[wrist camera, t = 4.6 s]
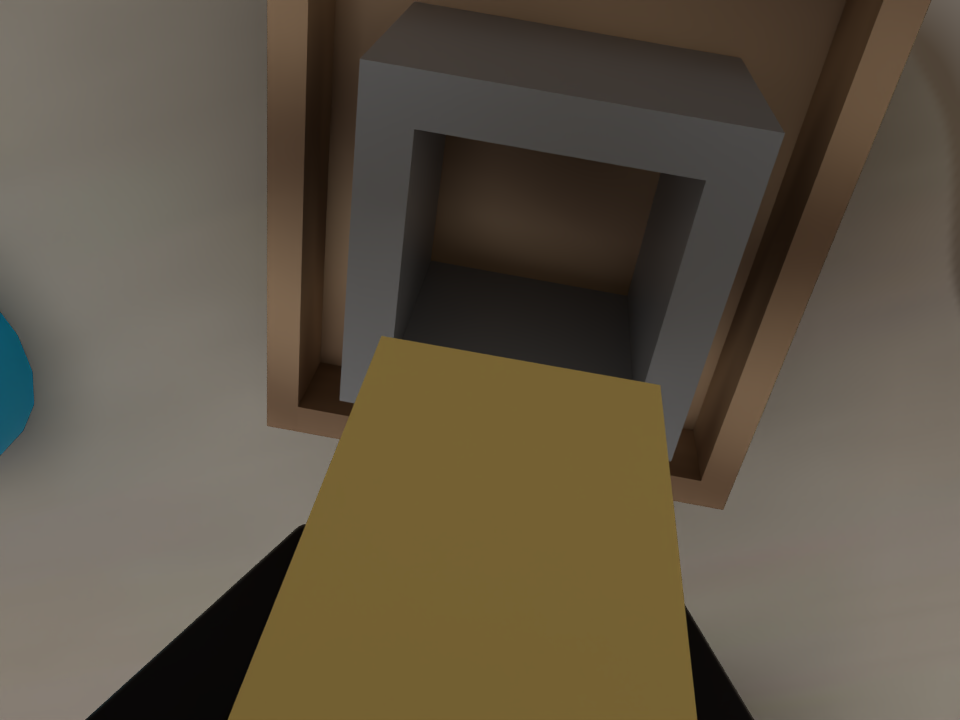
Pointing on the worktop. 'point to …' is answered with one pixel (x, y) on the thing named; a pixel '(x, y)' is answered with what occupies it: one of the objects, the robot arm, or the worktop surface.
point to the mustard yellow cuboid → (484, 554)
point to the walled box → (578, 191)
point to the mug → (13, 386)
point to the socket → (564, 131)
